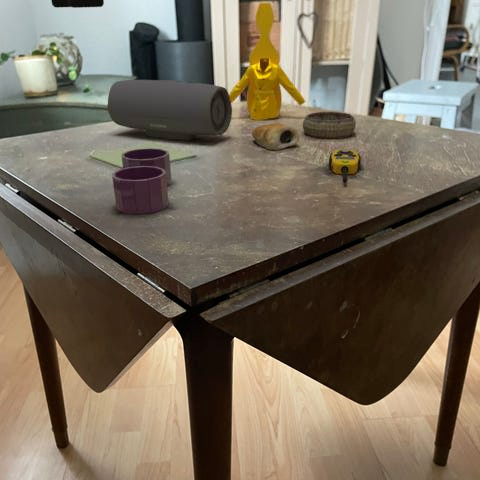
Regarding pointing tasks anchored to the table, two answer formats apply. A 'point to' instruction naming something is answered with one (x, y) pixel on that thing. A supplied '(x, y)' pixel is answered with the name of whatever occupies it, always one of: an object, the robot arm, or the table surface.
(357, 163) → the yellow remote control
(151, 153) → the ribbed purple cap
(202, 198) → the table surface
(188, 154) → the placemat
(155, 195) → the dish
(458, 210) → the table surface
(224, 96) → the bluetooth speaker
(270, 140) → the pastry
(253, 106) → the yellow coat
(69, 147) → the table surface
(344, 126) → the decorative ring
